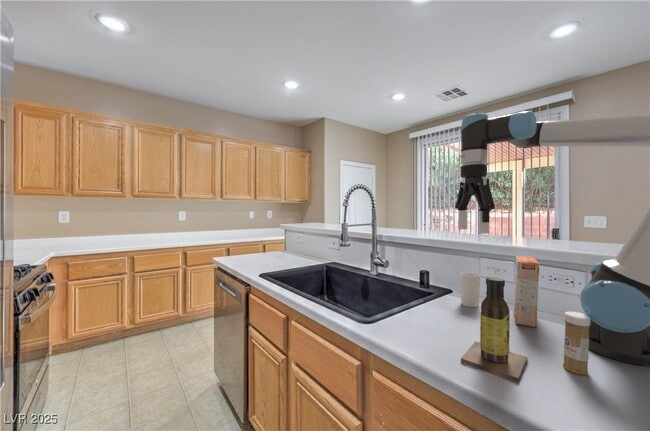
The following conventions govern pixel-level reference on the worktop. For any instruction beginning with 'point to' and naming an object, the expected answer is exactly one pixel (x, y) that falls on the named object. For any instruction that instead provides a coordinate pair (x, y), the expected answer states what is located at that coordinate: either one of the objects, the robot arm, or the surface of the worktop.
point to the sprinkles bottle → (576, 342)
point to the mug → (470, 289)
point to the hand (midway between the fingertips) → (472, 231)
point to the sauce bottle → (495, 322)
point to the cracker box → (526, 291)
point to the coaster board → (496, 363)
